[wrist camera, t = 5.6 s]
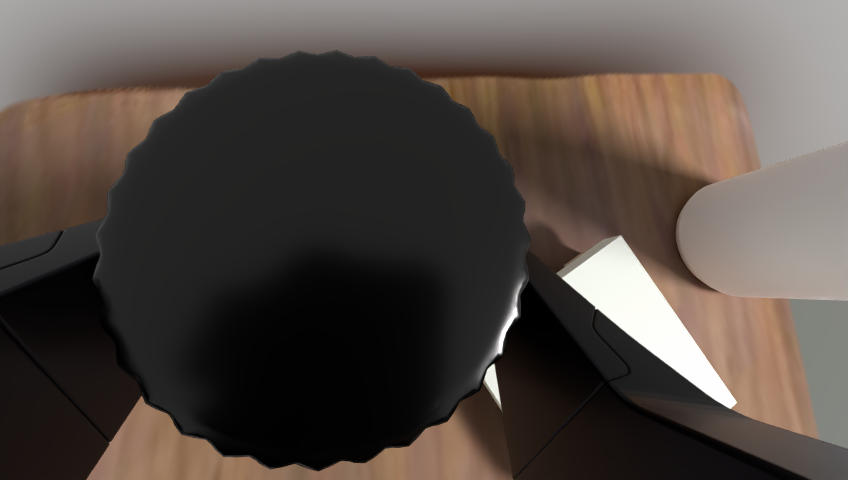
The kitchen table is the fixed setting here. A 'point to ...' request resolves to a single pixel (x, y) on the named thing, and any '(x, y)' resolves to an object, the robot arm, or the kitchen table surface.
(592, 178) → the kitchen table surface
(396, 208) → the supplement bottle
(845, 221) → the alcohol
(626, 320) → the white square riser
